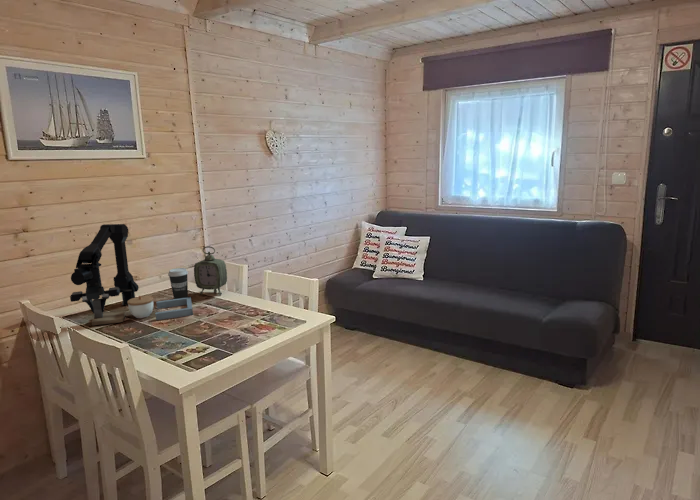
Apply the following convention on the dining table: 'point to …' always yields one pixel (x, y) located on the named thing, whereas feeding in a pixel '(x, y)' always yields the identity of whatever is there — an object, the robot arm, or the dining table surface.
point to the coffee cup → (179, 282)
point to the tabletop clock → (210, 273)
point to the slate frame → (174, 313)
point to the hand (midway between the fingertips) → (98, 312)
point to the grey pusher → (105, 314)
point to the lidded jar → (141, 306)
